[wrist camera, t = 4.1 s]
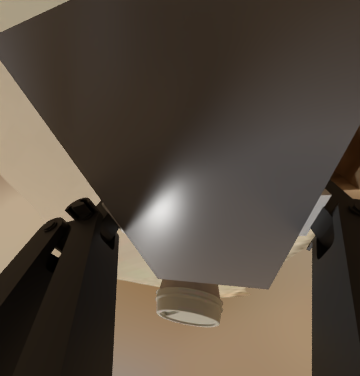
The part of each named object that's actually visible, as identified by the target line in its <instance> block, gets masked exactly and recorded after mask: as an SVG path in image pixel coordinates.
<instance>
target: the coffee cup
mask: <svg viewBox="0 0 360 376" xmlns="http://www.w3.org/2000/svg"><path fill="white" fill-rule="evenodd" d="M156 294H157V296H156V302H157V311H156V312H157V314H158V315H159V316H160V317H162V318H164V319H167V320H170V321H173V322H177V323H180V324H185V325H191V326H198V327H216V326H218V325H219V324H220V317H221V313H222V311H223V310H222V305H223V302H222V301H221V299H220V295H219V289H218V284H208V283H198V282H187V281H177V280H167V279H162V283H161V286H160V289H159V290H157V291H156Z"/></svg>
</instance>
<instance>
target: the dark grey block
mask: <svg viewBox="0 0 360 376" xmlns="http://www.w3.org/2000/svg"><path fill="white" fill-rule="evenodd" d="M0 60H1V62H2V63H3V65H4V66H5V67H6V69H7V70H8V72H9V73H10V74H11V76H12V77H13V78H14V80H15V81H16V83H17V84H18V85H19V87H20V88H21V90H22V91H23V92H24V94H25V95H26V97H27V98H28V99H29V101H30V102H31V103H32V105H33V106H34V108H35V109H36V110H37V112H38V113H39V115H40V116H41V117H42V119H43V120H44V121H45V123H46V124H47V126H48V127H49V128H50V130H51V131H52V133H53V134H54V135H55V137H56V138H57V139H58V141H59V142H60V144H61V145H62V146H63V148H64V149H65V151H66V152H67V153H68V155H69V156H70V157H71V159H72V160H73V162H74V163H75V164H76V166H77V167H78V169H79V170H80V171H81V173H82V174H83V176H84V177H85V178H86V180H87V181H88V182H89V184H90V185H91V187H92V188H93V189H94V191H95V192H96V194H97V195H98V196H99V198H100V199H101V200H102V202H103V203H104V205H105V206H106V207H107V209H108V210H109V212H110V213H111V214H112V216H113V217H114V218H115V220H116V221H117V223H118V224H119V225H120V227H121V228H122V230H123V231H124V232H125V234H126V235H127V237H128V238H129V239H130V241H131V242H132V243H133V245H134V246H135V248H136V249H137V250H138V252H139V253H140V255H141V256H142V257H143V259H144V260H145V261H146V263H147V264H148V266H149V267H150V268H151V270H152V271H153V273H154V274H155V275H156V277H157V278H158V279H167V280H177V281H187V282H198V283H208V284H218V285H229V286H239V287H249V288H260V289H269V288H270V286H271V284H272V282H273V280H274V279H275V277H276V275H277V273H278V271H279V270H280V268H281V266H282V264H283V262H284V261H285V259H286V257H287V255H288V253H289V252H290V250H291V248H292V246H293V244H294V243H295V241H296V239H297V237H298V235H299V234H300V232H301V230H302V228H303V226H304V225H305V223H306V221H307V219H308V217H309V216H310V214H311V212H312V210H313V208H314V207H315V205H316V203H317V201H318V199H319V198H320V196H321V194H322V192H323V190H324V189H325V187H326V185H327V183H328V181H329V180H330V178H331V176H332V174H333V172H334V171H335V169H336V167H337V165H338V163H339V162H340V160H341V158H342V156H343V154H344V153H345V151H346V149H347V147H348V145H349V144H350V142H351V140H352V138H353V136H354V135H355V133H356V131H357V129H358V127H359V126H360V0H69V1H67V2H65V3H63V4H61V5H58V6H56V7H54V8H52V9H50V10H48V11H46V12H43V13H41V14H39V15H37V16H35V17H33V18H31V19H28V20H26V21H24V22H22V23H20V24H18V25H15V26H13V27H11V28H9V29H7V30H5V31H3V32H0Z"/></svg>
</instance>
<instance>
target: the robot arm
mask: <svg viewBox="0 0 360 376" xmlns="http://www.w3.org/2000/svg"><path fill="white" fill-rule="evenodd" d="M65 211H66V212H67V213H68V214H69V215H70V216H71V217H72V218H73V219H74V220H73V221H70V222H66V221H65V220H64V219H63V218H61V217H60V218H55V219H52V220H50V221H48V222H47V223H46V224H44V225H43V226H42V227H41V228H40V229H39V230H38V231H37V232H36V233H35V235H34V236H33V237H32V238H31V239H30V241H29V242H28V243H27V244H26V245H25V246H24V247H23V248H22V250H21V251H20V252H19V253H18V254H17V255H16V256H15V258H14V259H13V260H12V261H11V262H10V264H9V265H8V266H7V267H6V268H5V269H4V270H3V271H2V273H1V274H0V376H112V365H113V346H114V326H115V305H116V284H117V265H118V245H119V235H118V234H117V230H118V229H119V228H120V229H121V231H122V232H123V233H125V232H124V231H123V230H122V228H121V227H120V225H119V224H118V223H117V221H116V220H115V218H114V217H113V216H112V214H111V213H110V212H109V210H108V209H107V207H106V206H105V205H104V203H103V202H102V200H101V201H100V202H99V204H98V205H97V206H95V205H94V204H93V202H92V201H91V200H90V199H89V198H82V199H79V200H76V201H75V202H73V203H71V204H70V205H69V206H68V207H67V208H66V209H65ZM310 229H312V231H313V232H314V234H315V237H314V238H313V240H312V241H311V243H310V244H309V245H308V247H307V250H309V251H310V249H311V248H312V376H360V199H352V198H351V197H350V196H349V195H348V194H347V193H345V192H344V191H343V190H342V189H341V188H340V187H338V186H337V185H336V184H335V183H334V182H333V181H331V180H329V181H328V183H327V185H326V187H325V189H324V190H323V192H322V194H321V196H320V198H319V199H318V201H317V203H316V205H315V207H314V208H313V210H312V212H311V214H310V216H309V217H308V219H307V221H306V223H305V225H304V226H303V228H302V230H301V232H300V234H299V235H298V236H306V235H307V234H308V232H309V230H310ZM54 248H55V249H57V250H58V251H60V252H61V256H60V257H56V256H55V255H53V254H51V253H52V251H53V250H54Z"/></svg>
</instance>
